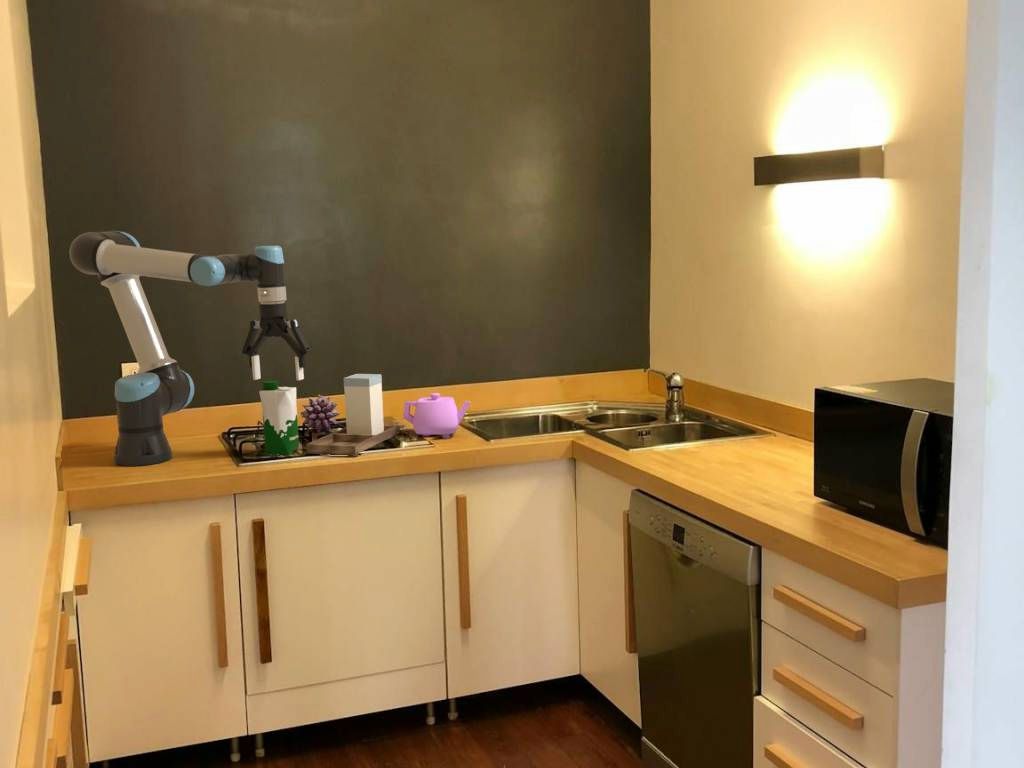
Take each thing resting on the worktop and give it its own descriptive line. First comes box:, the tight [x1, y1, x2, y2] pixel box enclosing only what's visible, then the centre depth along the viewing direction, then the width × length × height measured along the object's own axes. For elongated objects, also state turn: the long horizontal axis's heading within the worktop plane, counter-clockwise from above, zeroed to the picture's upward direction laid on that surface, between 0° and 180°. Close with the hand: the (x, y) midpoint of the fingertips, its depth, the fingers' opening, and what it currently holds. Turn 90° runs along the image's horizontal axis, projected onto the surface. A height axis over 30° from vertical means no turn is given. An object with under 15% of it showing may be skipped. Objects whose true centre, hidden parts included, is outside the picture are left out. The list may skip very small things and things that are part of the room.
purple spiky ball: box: [300, 394, 340, 434], centre depth 320 cm, size 12×12×12 cm
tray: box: [305, 424, 401, 458], centre depth 303 cm, size 15×29×3 cm, turn 162°
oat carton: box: [343, 373, 385, 435], centre depth 308 cm, size 8×8×18 cm
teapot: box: [402, 392, 471, 440], centre depth 311 cm, size 20×12×13 cm, turn 88°
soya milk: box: [258, 380, 300, 456], centre depth 295 cm, size 9×9×20 cm
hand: (278, 379), depth 293 cm, fingers open, 13 cm apart
